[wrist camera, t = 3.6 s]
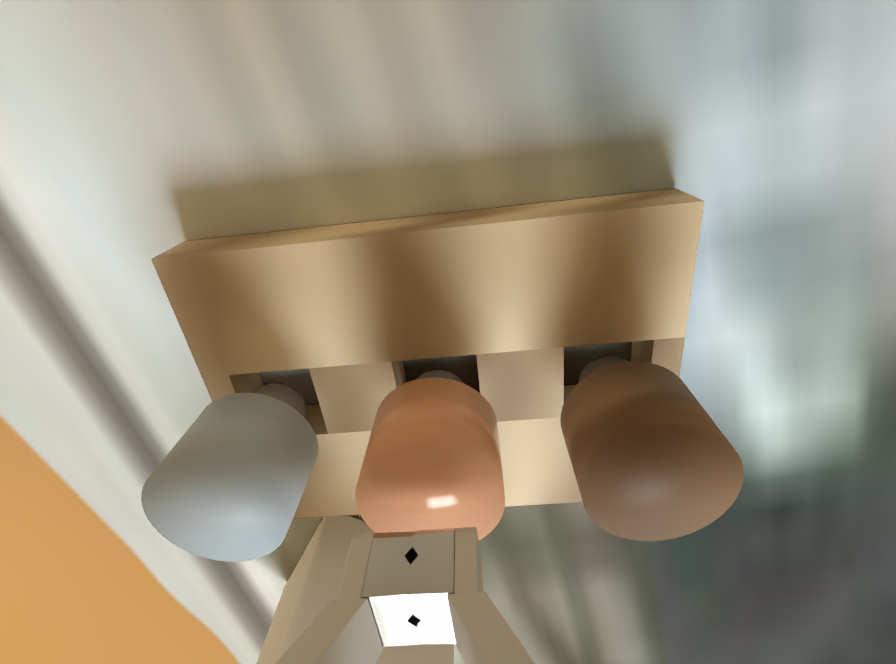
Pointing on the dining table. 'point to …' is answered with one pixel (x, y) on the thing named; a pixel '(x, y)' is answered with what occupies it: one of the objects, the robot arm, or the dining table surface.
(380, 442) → the peach rounded knob
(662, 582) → the dining table surface
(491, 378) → the button board
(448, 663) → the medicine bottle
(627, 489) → the brown rounded piece
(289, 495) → the slate-blue button
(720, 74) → the dining table surface
